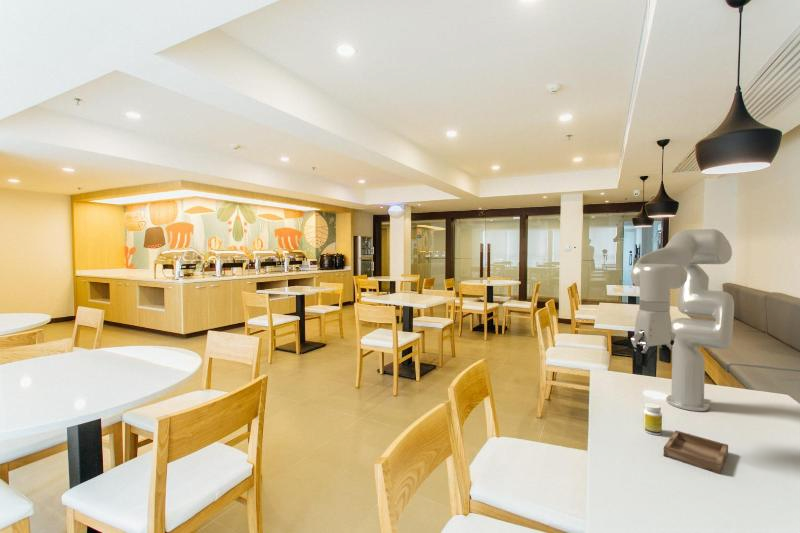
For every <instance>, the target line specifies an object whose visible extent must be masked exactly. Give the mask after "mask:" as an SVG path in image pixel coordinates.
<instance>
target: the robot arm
mask: <svg viewBox="0 0 800 533" xmlns="http://www.w3.org/2000/svg"><path fill="white" fill-rule="evenodd" d="M732 255H733V249H732V246H731V244H730V242H729V240H728V238H727V237H726V236H725V234H724V233H722V231H720V230H718V229H715V228H706V229H703V228H702V229H699V228H698V229H684V230H679V231H677V232H675V233H674V234H673V235H672V237H671V238H670V239H669V241H668V242H667V244H666V245H665V246H664V247H662V248H659V249H656V250H653V251H650V252H648V253H646V254H643V255H642V256H641V257H639V258H638V259H637V261H636V262H635V264H634V265H633V267H632V269H631V271H630V272H631V273H630V279H631V282H632V283H633V285H635V286H636V287H639V306H638V307H639V310H637V313H636V319H635V323H634V335H633V336H632V337H631V338H630V341H631V346H632V348H633V349H634V350H633V351H634V352H635V364H636V365H637V366H640V367H644V368H645V367H648V357H649V356H648V353H647V352H648V351H647V350H648V349H649V348H650V347H655V346H656V347H658V346H660V347H659V349H658V350H659V352H658V353H659V354H658V360H659V361H660V362H662V363H666V364H671V395H668V396H666V397H665V398H666V399H665V400H666V402H667V403H668V405H671V406H673V407H676V408H678V409H682V410H686V411H693V412H705V411H706V412H707V411H709V410H710V409H711V408H710V404H709V403H708V402H707V401H705V377H706V376H705V374H706V373H705V372H706V371H705V370H706V366H705V365H706V361H705V360H706V359H705V356H704V354H703V353H702V351H701V350H700V349H699V347H700V348H706V349H708V348H709V349H714V350H727V349H728V348H730V346H731V344H732V339H733V331H734V330H733V329H734V328H733V327H734V317H735V301H734V297H733V296H732V294H730V293H729V292H727V291H722V290H709V283H710V277H709V275H708V274H707V272H706V271H705V270H704V269H703V268H702V267H700V266H699V265H725V264H727V263H729V261H731V258H732ZM674 289H675V290H677V289H678V294H677V295H678V296H677V309H678V312H680V313H681V314H684V315H687V316H696V317H705V318H713V319H715V320H708V319H707V320H706V319H700V318H690V317H678V318H675V319H673V320H671V319H672V318H671V310H670V309H671V307H670V306H671V290H674ZM642 346H643V347H642Z"/></svg>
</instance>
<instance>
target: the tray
mask: <svg viewBox="0 0 800 533" xmlns="http://www.w3.org/2000/svg"><path fill="white" fill-rule="evenodd" d="M728 455H729V444H727V443H723V442H719V441H716V440H711V439H710V438H704V437H702V436H701V437H700V436H697V435H695V434H690V433H687V432H683V431H680V430H675V431H674V432H673V434H671V436H670V438H669V439H668V440H667V442H665V444H664V446H663V457H666V458H669V459H672V460H675V461H679V462H681V463H683V464H684V463H685V464H687V465H690V466H693V467H696V468H700V469H703V470H706V471H709V472H712V473H715V474H718V475H720V474H721V472H722V470H723V467H724V465H725V463H726V460H727V457H728Z"/></svg>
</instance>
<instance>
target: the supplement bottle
mask: <svg viewBox="0 0 800 533" xmlns="http://www.w3.org/2000/svg"><path fill="white" fill-rule="evenodd" d="M662 414H663V413H662V412H661V405H659V404H658V403H653V402H646V403H645V404H644V409H643V431H644V432H645V433H647V434H650V435H652V436H653V435H654V436H660V435H661V434H662V433H663V431H662V429H663V427H662V424H663V423H662V422H663V415H662Z"/></svg>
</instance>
